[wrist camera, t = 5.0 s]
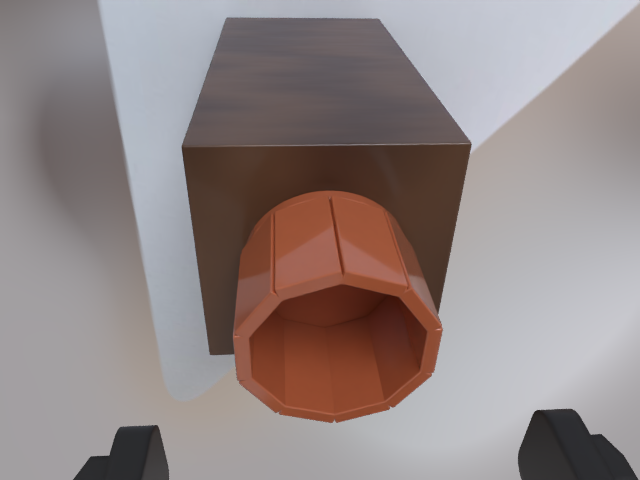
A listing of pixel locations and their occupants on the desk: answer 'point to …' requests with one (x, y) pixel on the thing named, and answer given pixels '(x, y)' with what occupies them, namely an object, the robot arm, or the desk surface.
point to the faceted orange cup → (332, 310)
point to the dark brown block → (315, 144)
